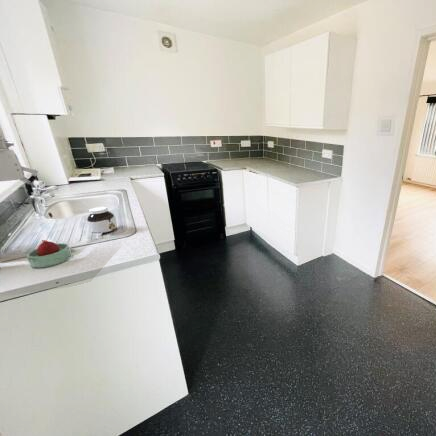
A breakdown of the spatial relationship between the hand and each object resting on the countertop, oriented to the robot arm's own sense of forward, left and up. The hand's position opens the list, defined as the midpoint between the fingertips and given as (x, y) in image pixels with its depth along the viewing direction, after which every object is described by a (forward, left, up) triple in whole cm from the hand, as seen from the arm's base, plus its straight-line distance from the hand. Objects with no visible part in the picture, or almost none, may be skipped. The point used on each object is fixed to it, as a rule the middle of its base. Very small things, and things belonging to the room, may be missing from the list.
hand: (10, 197), depth 84 cm
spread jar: (+13, +25, -24) cm, 37 cm away
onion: (+7, -3, -24) cm, 25 cm away
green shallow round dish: (+7, -3, -24) cm, 25 cm away
